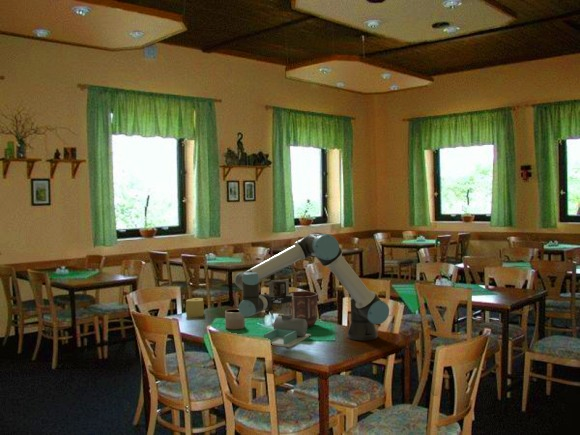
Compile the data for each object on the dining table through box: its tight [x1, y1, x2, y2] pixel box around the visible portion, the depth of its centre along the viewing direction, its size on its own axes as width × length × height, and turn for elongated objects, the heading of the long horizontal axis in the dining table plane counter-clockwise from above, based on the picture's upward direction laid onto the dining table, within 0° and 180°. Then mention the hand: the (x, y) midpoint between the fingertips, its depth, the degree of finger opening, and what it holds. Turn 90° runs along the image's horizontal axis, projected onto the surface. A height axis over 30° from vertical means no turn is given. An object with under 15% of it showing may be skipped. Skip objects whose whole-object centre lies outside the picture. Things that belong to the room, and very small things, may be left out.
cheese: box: [185, 297, 205, 318], centre depth 375 cm, size 10×11×10 cm
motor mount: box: [263, 314, 312, 348], centre depth 313 cm, size 19×24×12 cm
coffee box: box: [268, 279, 290, 315], centre depth 307 cm, size 9×6×16 cm
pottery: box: [287, 290, 319, 329], centre depth 343 cm, size 18×18×18 cm
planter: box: [224, 308, 246, 331], centre depth 341 cm, size 11×11×10 cm
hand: (283, 295), depth 310 cm, fingers closed on coffee box, 10 cm apart
